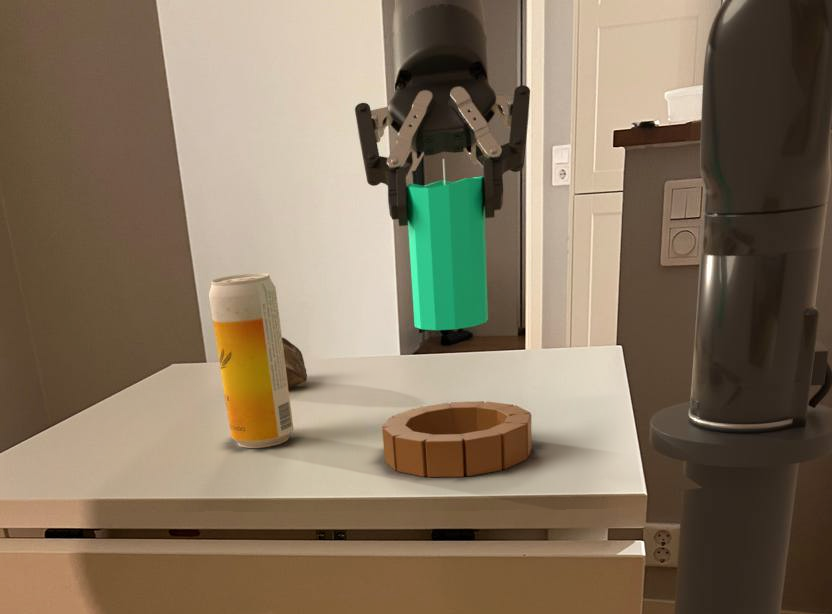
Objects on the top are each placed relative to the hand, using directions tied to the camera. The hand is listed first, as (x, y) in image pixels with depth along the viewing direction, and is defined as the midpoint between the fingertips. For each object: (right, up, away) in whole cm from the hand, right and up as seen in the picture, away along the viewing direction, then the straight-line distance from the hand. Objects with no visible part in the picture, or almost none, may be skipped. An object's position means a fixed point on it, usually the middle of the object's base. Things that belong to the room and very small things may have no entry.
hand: (446, 213), depth 72 cm
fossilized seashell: (-17, -2, +42) cm, 45 cm away
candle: (+1, -7, +5) cm, 9 cm away
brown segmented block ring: (+2, -16, +10) cm, 19 cm away
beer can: (-16, -13, +20) cm, 29 cm away
